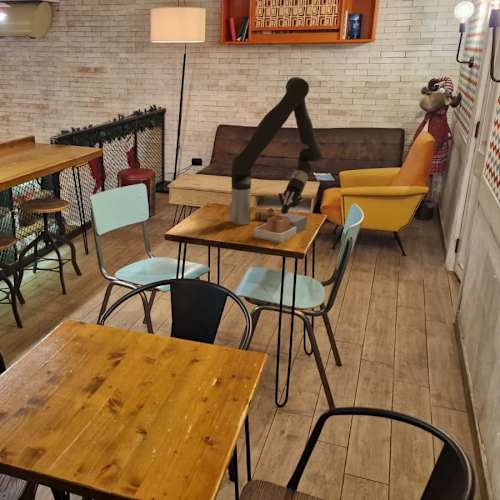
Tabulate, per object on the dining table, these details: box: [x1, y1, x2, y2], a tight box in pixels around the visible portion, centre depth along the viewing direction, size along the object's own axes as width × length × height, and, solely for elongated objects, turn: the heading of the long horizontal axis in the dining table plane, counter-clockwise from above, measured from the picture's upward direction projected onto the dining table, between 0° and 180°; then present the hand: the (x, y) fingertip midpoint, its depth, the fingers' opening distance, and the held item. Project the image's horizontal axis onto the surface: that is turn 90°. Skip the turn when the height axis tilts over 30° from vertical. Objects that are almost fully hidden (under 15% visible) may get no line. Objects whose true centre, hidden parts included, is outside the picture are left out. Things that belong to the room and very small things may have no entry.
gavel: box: [254, 208, 277, 221], centre depth 246 cm, size 21×5×10 cm
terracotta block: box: [266, 214, 290, 234], centre depth 215 cm, size 7×7×8 cm
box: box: [253, 222, 297, 244], centre depth 214 cm, size 14×14×4 cm
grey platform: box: [278, 212, 308, 235], centre depth 224 cm, size 12×12×6 cm
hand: (283, 213), depth 217 cm, fingers closed
